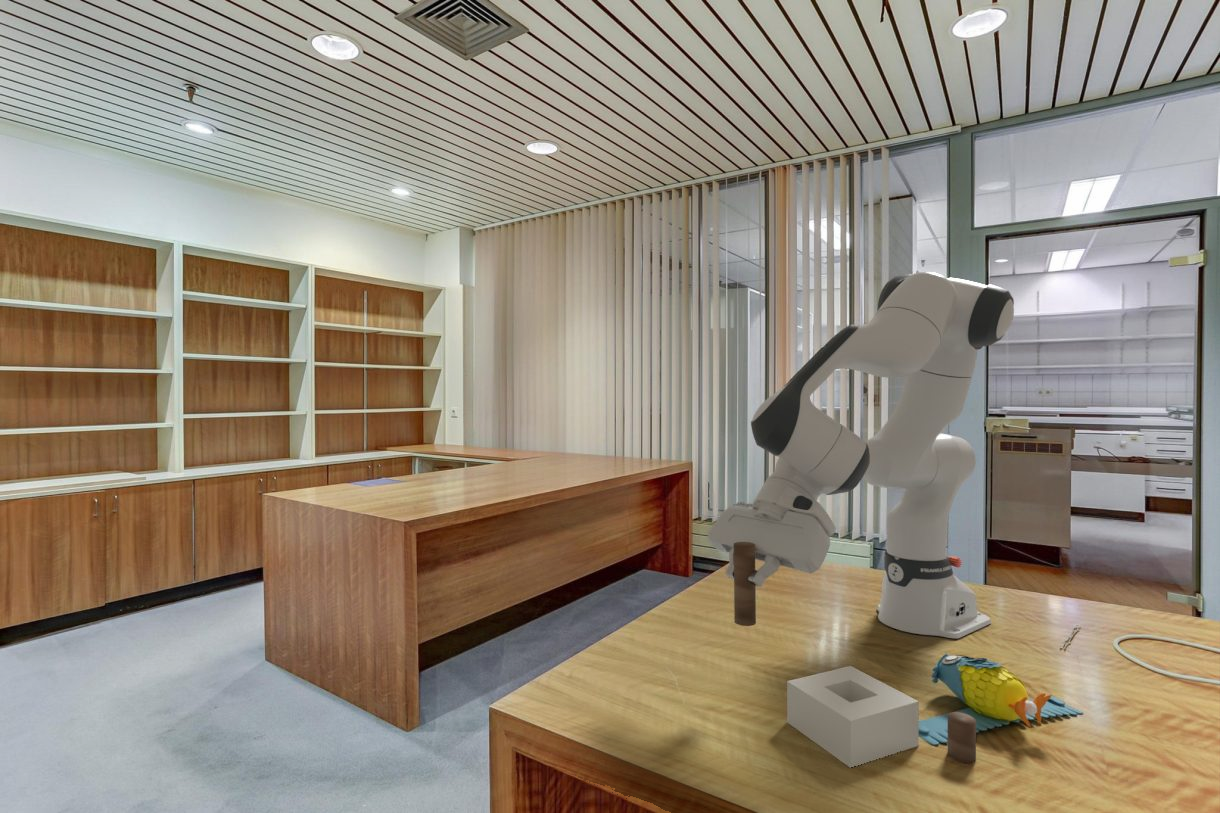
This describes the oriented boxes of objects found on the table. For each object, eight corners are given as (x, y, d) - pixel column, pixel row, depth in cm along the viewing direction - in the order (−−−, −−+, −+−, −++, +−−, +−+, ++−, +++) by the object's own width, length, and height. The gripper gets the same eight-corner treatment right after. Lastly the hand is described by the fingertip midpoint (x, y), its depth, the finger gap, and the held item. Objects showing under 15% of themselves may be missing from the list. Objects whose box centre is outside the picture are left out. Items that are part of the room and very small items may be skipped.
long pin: (747, 617, 97) (746, 541, 97) (760, 623, 94) (759, 545, 94) (730, 620, 96) (729, 543, 96) (742, 627, 93) (742, 547, 93)
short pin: (958, 747, 82) (958, 710, 82) (981, 760, 79) (981, 721, 79) (941, 753, 81) (942, 715, 81) (964, 766, 78) (964, 726, 78)
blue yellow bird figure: (953, 696, 79) (871, 652, 94) (954, 764, 79) (872, 710, 94) (1109, 667, 88) (1011, 631, 102) (1110, 728, 88) (1012, 683, 102)
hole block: (850, 705, 94) (850, 665, 94) (918, 745, 83) (918, 701, 83) (787, 722, 89) (787, 681, 89) (850, 768, 78) (850, 720, 78)
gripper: (724, 489, 107) (683, 555, 101) (828, 504, 91) (787, 583, 85) (741, 512, 110) (703, 577, 104) (846, 530, 94) (807, 608, 88)
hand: (742, 580), depth 94 cm, fingers closed on long pin, 3 cm apart
